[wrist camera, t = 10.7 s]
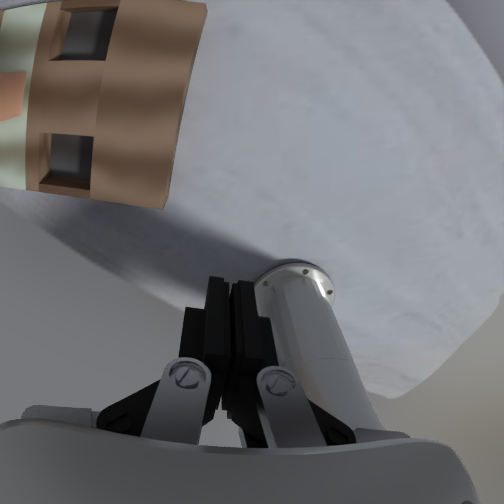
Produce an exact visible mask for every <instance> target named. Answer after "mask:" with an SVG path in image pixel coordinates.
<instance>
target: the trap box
mask: <svg viewBox="0 0 504 504" xmlns="http://www.w3.org/2000/svg"><path fill="white" fill-rule="evenodd" d="M206 16H207V8H206V4H204V3H196V2H188V1H179V0H65V1H56V2H48V3H41V4H35V5H29V6H23V7H18V8H13V9H9V10H0V73H7V72H27V76H26V82H25V88H24V96H23V103H22V112H21V116H18V117H14V118H11V119H8V120H5V121H2V122H0V187H6V188H14V189H22V190H30V191H37V192H45V193H52V194H59V195H66V196H74V197H81V198H87V199H94V200H101V201H108V202H114V203H121V204H128V205H134V206H140V207H147V208H153V209H159V210H163V208H164V206H165V203H166V201H167V199H168V195H169V188H170V182H171V175H172V169H173V163H174V157H175V151H176V146H177V140H178V135H179V129H180V124H181V119H182V114H183V109H184V105H185V100H186V95H187V91H188V86H189V82H190V77H191V73H192V69H193V65H194V61H195V57H196V53H197V49H198V45H199V41H200V37H201V33H202V30H203V26H204V23H205V19H206Z"/></svg>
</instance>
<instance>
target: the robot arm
mask: <svg viewBox="0 0 504 504" xmlns="http://www.w3.org/2000/svg"><path fill="white" fill-rule="evenodd" d="M334 300H335V288H334V286H333V283H332V281H331V279H330V277H329V276H328V275H327V274H326V273H325V272H324V271H323V270H322V269H320V268H319V267H316V266H314V265H311V264H306V263H290V264H285V265H281V266H278V267H276V268H274V269H272V270H270V271H268V272H267V273H265V274H264V275H262V276H261V277H260V278H259V279H258V280H257V281H256V283H255V284H254V283H253V282H250V281H242V280H239V281H238V284H237V283H233V285H232V289H231V293H230V298H229V282H224V278H221V277H214V276H210V277H209V283H208V289H207V295H206V301H205V308H204V309H198V308H191V307H186V308H185V315H184V322H183V328H182V336H181V343H180V350H179V358H177V359H174V360H172V361H171V362H169V363H168V364H167V366H166V367H165V369H164V372H163V375H162V377H161V379H160V380H158V381H156V382H155V383H153V384H151V385H149V386H147V387H145V388H143V389H142V390H139V391H138V392H136V393H134V394H132V395H130V396H128V397H126V398H124V399H122V400H120V401H118V402H116V403H114V404H112V405H110V406H108V407H106V408H105V409H104V410H102V411H92V409H91V408H72V407H57V406H45V405H33V406H30V407H28V408H27V409H26V410H25V411H24V412H23V414H22V417H21V419H16V420H10V421H6V422H3V423H1V424H0V504H481V503H480V500H479V498H478V495H477V492H476V490H475V487H474V485H473V482H472V480H471V478H470V476H469V473H468V471H467V469H466V468H465V466H464V464H463V462H462V460H461V458H460V457H459V455H458V454H457V453H456V451H455V450H454V449H452V447H450V446H449V445H447V444H445V443H442V442H439V441H435V440H429V439H423V438H410V436H408V435H407V434H405V433H402V432H397V431H386V429H385V428H384V426H383V424H382V423H381V421H380V419H379V417H378V415H377V414H376V412H375V410H374V408H373V406H372V404H371V401H370V399H369V397H368V395H367V392H366V390H365V388H364V385H363V383H362V381H361V378H360V376H359V373H358V371H357V368H356V365H355V363H354V361H353V358H352V356H351V353H350V351H349V348H348V346H347V343H346V341H345V339H344V336H343V334H342V331H341V329H340V327H339V324H338V322H337V320H336V317H335V315H334V313H333V310H332V306H333V304H334ZM221 397H222V410H227V418H228V419H232V421H233V422H234V423H235V424H237V425H238V426H239V428H238V429H239V436H240V440H241V444H242V448H235V447H218V446H205V445H198V443H199V438H200V434H201V429H202V426H204V425H205V424H207V423H208V422H209V421H211V420H212V419H213V417H214V413H215V409H216V410H217V409H218V406H219V402H220V398H221Z"/></svg>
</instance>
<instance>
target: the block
mask: <svg viewBox="0 0 504 504" xmlns="http://www.w3.org/2000/svg"><path fill="white" fill-rule="evenodd" d="M26 76H27V72H7V73H0V122H2V121H5V120H8V119H11V118H14V117H18V116H21V112H22V103H23V96H24V88H25V82H26Z"/></svg>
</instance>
